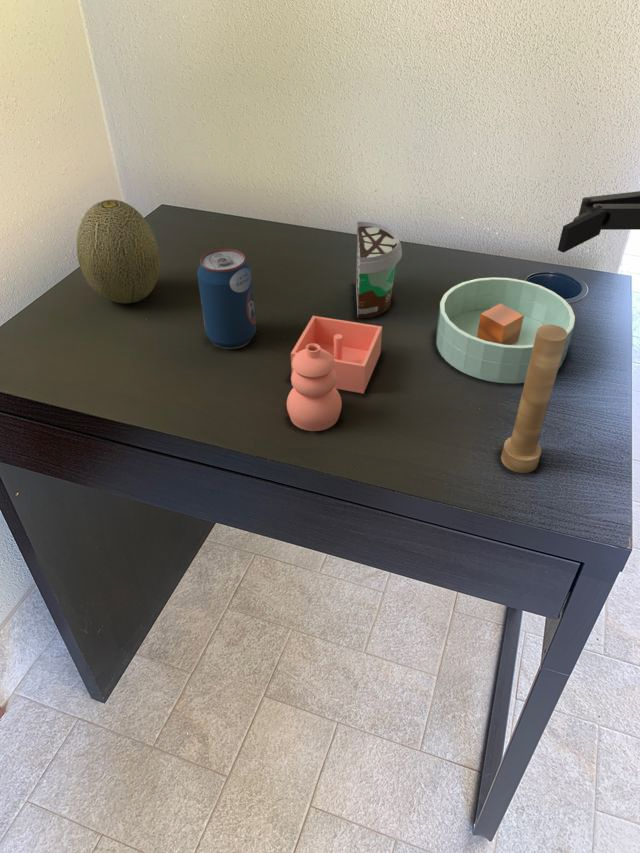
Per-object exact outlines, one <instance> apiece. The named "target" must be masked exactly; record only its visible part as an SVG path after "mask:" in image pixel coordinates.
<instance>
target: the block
mask: <svg viewBox="0 0 640 853" xmlns="http://www.w3.org/2000/svg"><path fill="white" fill-rule="evenodd" d="M523 318H524V315H522V314H520V313H518V312H516V311H514V310H512V309H510V308H508V307H506V306H504V305H502V304H498V305H496V306H494V307H493V308H491V309H489V310H487V311H485V312H483V313H481V316H480V322H479V328H478V333H477V338H479V339H482V340H485V341H488V342H493V343H499V344H504V345H512V344H513V343H515V342H517V341H518V340H519V336H520V332H521V327H522V322H523Z"/></svg>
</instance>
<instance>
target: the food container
mask: <svg viewBox="0 0 640 853" xmlns="http://www.w3.org/2000/svg"><path fill="white" fill-rule="evenodd" d="M356 229H357V230H356V234H357V235H356V269H355V270H356V272H355V275H356V276H355V293H356V294H355V295H356V309H357V311H356V312H357V319H368V318H373V317H377V316H379V315H381V314H383V313H384V312H386V311H387V310H388V309H389V308H390V305H391V301H392V295H393V289H394V288H393V287H394V281H395V276H396V275H395V274H396V266H397V264H398V263H399V262H400V260H401V259H402V256H403V250H402V244H401V243H402V242H401V241H400V238H399V235H398V233H396V232H395V231H394V230H393V229H391V227H390V228H389V227H388V226H386V225H383V224H380V223H376V222H371V221H362V220H361V221H360V220H359V221H357V228H356Z"/></svg>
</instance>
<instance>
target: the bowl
mask: <svg viewBox="0 0 640 853" xmlns="http://www.w3.org/2000/svg"><path fill="white" fill-rule="evenodd" d="M498 304H502V305H504V306H506V307H508V308H510V309H512V310H514V311H516V312H518V313H520V314H522V315H524V318H523V322H522V327H521V332H520V336H519V340H518V341H517V342H515V343H513V344H512V345H504V344H499V343H493V342H488V341H485V340H482V339H479V338H477V333H478V328H479V322H480V316H481V313H483V312H485V311H487V310H489V309H491V308H493V307H494V306H496V305H498ZM575 323H576V316H575V313H574V309H573V308H572V307H571V305H570V304H569V303H568V302H567V300H566V299H565V298H563V297H562V296H560V295H559V294H557V293H556V292H555V291H553V290H551V289H549V288H546V287H545V286H543V285H540V284H536V283H535V282H534V283H533V282H530V281H527V280H523V279H517V278H511V277H495V276H493V277H481V278H475V279H471V280H466V281H462V282H461V283H458V284H456V285H455V286H454V285H453V286H452V287H451V288H450V289H449V290H447V291H446V292H445V293H444V294H443V296H442V298H441V300H440V301H439V308H438V317H437V323H436V324H437V325H436V331H435V332H436V333H435V335H436V337H435V344H436V348H437V350H438V352H439V354H440V356H441V357H442V358H443V359H444V361H445V362H447V364H449V365H450V366H452V367H453V368H454V369H456V370H458V371H459V372H461V373H463V374H465V375H467V376H470V377H473V378H476V379H479V380H483V381H486V382H491V383H497V384H524V383H525V379H526V375H527V370H528V366H529V362H530V358H531V354H532V349H533V345H534V341H535V337H536V333H537V329H538V328H539V327H540V326H542V325H548V324H550V325H556V326H559V327H562V328H563V329H565V330H566V332H567V339H566V343H565V346H564V350H563V353H562V357H561V361H560V364H559V368H558V370H559V369H560V368H561V367H562V366H563V364H564V361H565V359H566V356H567V353H568V350H569V345H570V342H571V338H572V336H573V331H574V327H575Z"/></svg>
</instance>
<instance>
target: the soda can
mask: <svg viewBox="0 0 640 853" xmlns="http://www.w3.org/2000/svg"><path fill="white" fill-rule="evenodd" d="M199 262H200V264H199V267H198V269H197V273H196V276H197V282H198V288H199V290H198V291H199V296H200V303H201V309H202V317H203V325H204V332H205V335H206V337H207V338H208V340H209V341H210V342H211V343H212V344H213V345H214V346H215V347H217V348H220V349H224V350H236V349H240V348H243V347H245V346H246V345H248V344H249V343H250V342H251V341H252V339H253V337H254V336H255V335H256V331H257V324H256V323H257V321H256V311H255V299H254V288H253V277H252V269H251V268H252V267H251V266H250V264H249V262H248V261H247V259H246V256H245V254H244V252H242V251H240V250H236V249H233V248H218V249H213V250H209V251H208V252H206V253H204V254H203V255H202V256H201V257H200V260H199Z"/></svg>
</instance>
